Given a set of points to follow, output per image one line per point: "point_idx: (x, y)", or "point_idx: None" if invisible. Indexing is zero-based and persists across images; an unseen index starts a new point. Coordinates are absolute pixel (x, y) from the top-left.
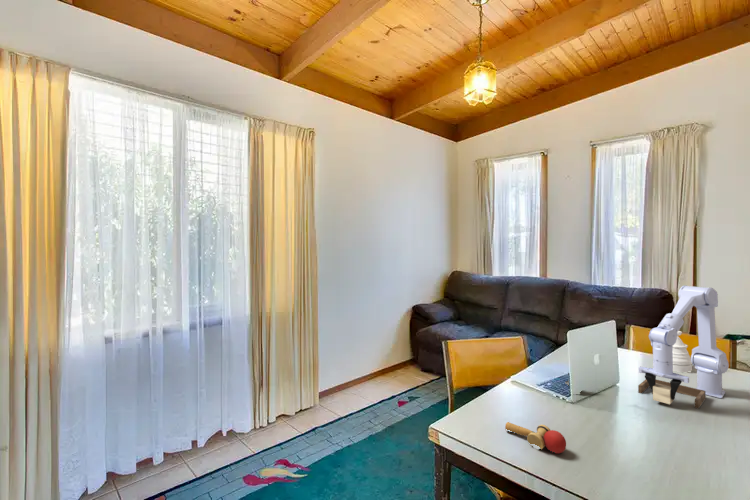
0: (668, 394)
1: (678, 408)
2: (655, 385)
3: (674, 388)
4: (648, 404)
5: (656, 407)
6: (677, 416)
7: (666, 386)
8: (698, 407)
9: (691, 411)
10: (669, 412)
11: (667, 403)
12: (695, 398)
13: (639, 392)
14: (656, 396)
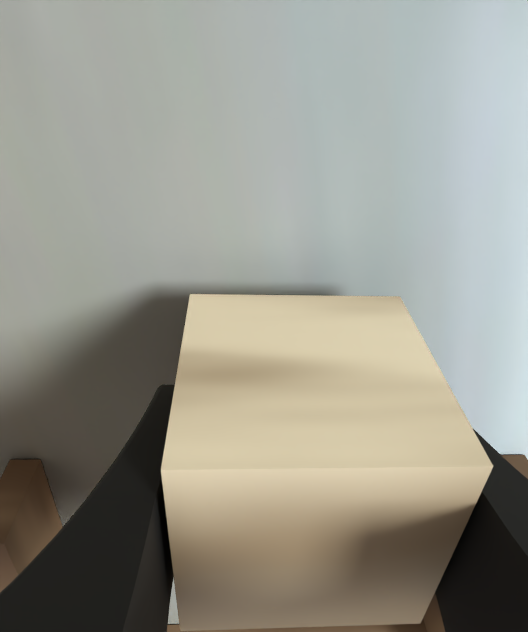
0: (196, 399)
1: (131, 337)
2: (439, 544)
3: (62, 569)
4: (434, 197)
5: (334, 164)
6: (20, 8)
7: (271, 604)
8: (7, 472)
9: (10, 352)
10: (158, 100)
11: (221, 297)
12: (16, 569)
13: (517, 460)
14: (371, 336)
